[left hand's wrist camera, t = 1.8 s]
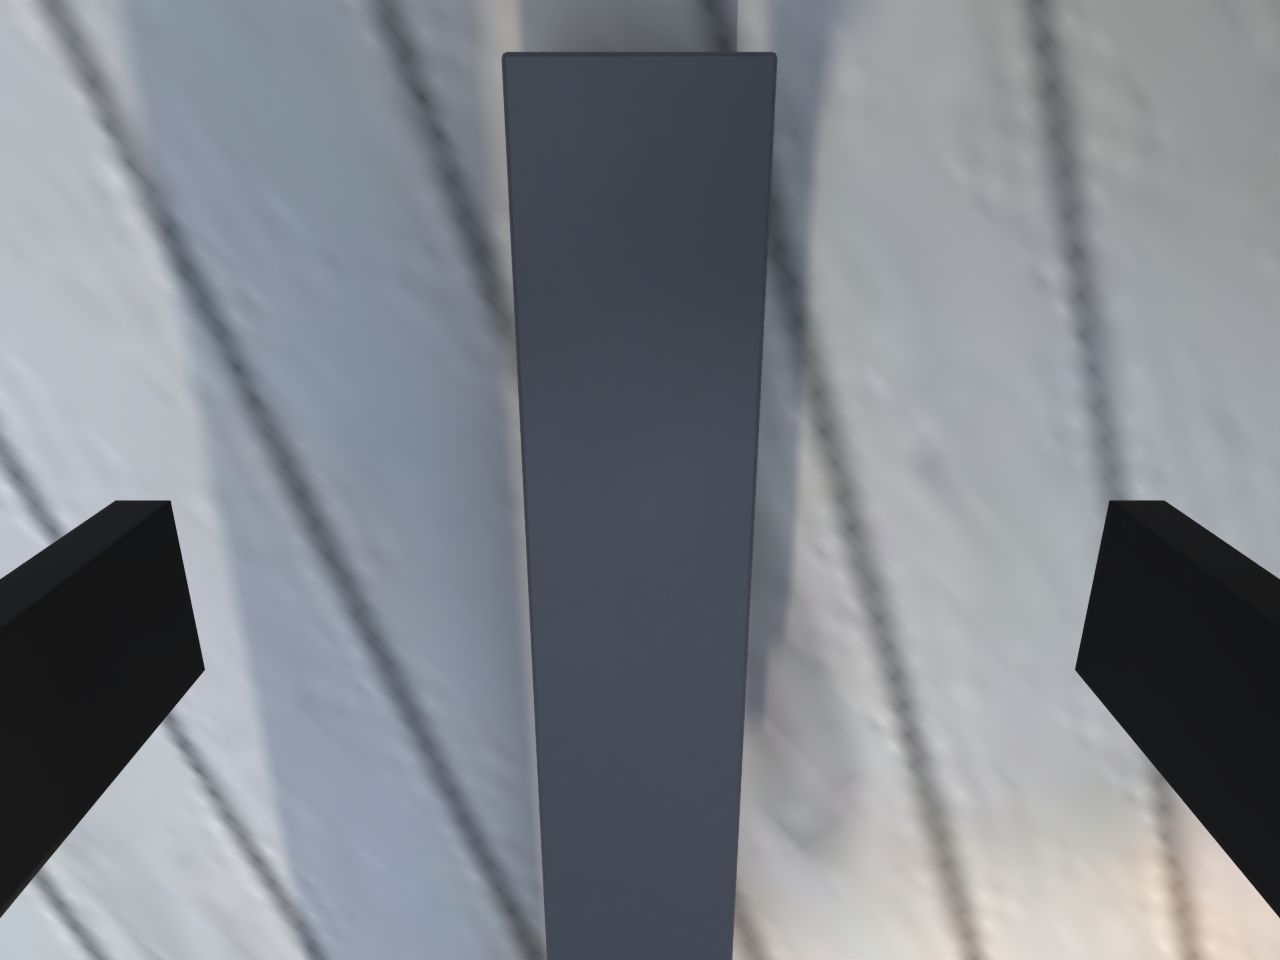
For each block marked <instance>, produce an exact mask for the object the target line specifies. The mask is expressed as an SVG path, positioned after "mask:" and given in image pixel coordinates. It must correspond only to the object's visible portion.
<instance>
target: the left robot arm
mask: <svg viewBox="0 0 1280 960" xmlns="http://www.w3.org/2000/svg"><path fill="white" fill-rule="evenodd" d="M204 670H205V668H204V663H203V658H202V653H201V648H200V643H199V638H198V633H197V628H196V623H195V619H194V614H193V609H192V604H191V599H190V594H189V589H188V584H187V579H186V574H185V569H184V564H183V560H182V555H181V550H180V545H179V540H178V535H177V530H176V525H175V520H174V515H173V510H172V506H171V501H114V502H113V503H111V504H110V505H108V506H107V507H105V508H104V509H103V510H101V511H100V512H98V513H97V514H95V515H94V516H92V517H91V518H89V519H88V520H86V521H85V522H83V523H82V524H81V525H79V526H78V527H76V528H75V529H73V530H72V531H70V532H69V533H67V534H66V535H64V536H63V537H62V538H60V539H59V540H57V541H56V542H54V543H53V544H51V545H50V546H48V547H47V548H45V549H44V550H42V551H41V552H40V553H38V554H37V555H35V556H34V557H32V558H31V559H29V560H28V561H26V562H25V563H23V564H22V565H21V566H19V567H18V568H16V569H15V570H13V571H12V572H10V573H9V574H7V575H6V576H4V577H3V578H1V579H0V918H1V916H2V915H3V914H4V913H5V912H6V910H7V909H8V908H9V907H10V906H11V904H12V903H13V902H14V901H15V899H16V898H17V897H18V896H19V895H20V893H21V892H22V891H23V890H24V889H25V887H26V886H27V885H28V884H29V882H30V881H31V880H32V879H33V878H34V876H35V875H36V874H37V873H38V872H39V870H40V869H41V868H42V867H43V866H44V864H45V863H46V862H47V861H48V859H49V858H50V857H51V856H52V855H53V853H54V852H55V851H56V850H57V849H58V847H59V846H60V845H61V844H62V842H63V841H64V840H65V839H66V838H67V836H68V835H69V834H70V833H71V832H72V830H73V829H74V828H75V827H76V826H77V824H78V823H79V822H80V821H81V819H82V818H83V817H84V816H85V815H86V813H87V812H88V811H89V810H90V809H91V807H92V806H93V805H94V804H95V802H96V801H97V800H98V799H99V798H100V796H101V795H102V794H103V793H104V792H105V790H106V789H107V788H108V787H109V786H110V784H111V783H112V782H113V781H114V779H115V778H116V777H117V776H118V775H119V773H120V772H121V771H122V770H123V769H124V767H125V766H126V765H127V764H128V762H129V761H130V760H131V759H132V758H133V756H134V755H135V754H136V753H137V752H138V750H139V749H140V748H141V747H142V746H143V744H144V743H145V742H146V741H147V739H148V738H149V737H150V736H151V735H152V733H153V732H154V731H155V730H156V729H157V727H158V726H159V725H160V724H161V722H162V721H163V720H164V719H165V718H166V716H167V715H168V714H169V713H170V712H171V710H172V709H173V708H174V707H175V706H176V704H177V703H178V702H179V701H180V699H181V698H182V697H183V696H184V695H185V693H186V692H187V691H188V690H189V689H190V687H191V686H192V685H193V684H194V682H195V681H196V680H197V679H198V678H199V676H200V675H201V674H202V673H203V672H204ZM1075 670H1076V672H1077V673H1078V674H1079V675H1080V676H1081V678H1082V679H1083V680H1084V681H1085V682H1086V684H1087V685H1088V686H1089V687H1090V689H1091V690H1092V691H1093V692H1094V693H1095V695H1096V696H1097V697H1098V698H1099V699H1100V701H1101V702H1102V703H1103V704H1104V706H1105V707H1106V708H1107V709H1108V710H1109V712H1110V713H1111V714H1112V715H1113V716H1114V718H1115V719H1116V720H1117V721H1118V722H1119V724H1120V725H1121V726H1122V727H1123V729H1124V730H1125V731H1126V732H1127V733H1128V735H1129V736H1130V737H1131V738H1132V739H1133V741H1134V742H1135V743H1136V744H1137V746H1138V747H1139V748H1140V749H1141V750H1142V752H1143V753H1144V754H1145V755H1146V756H1147V758H1148V759H1149V760H1150V761H1151V762H1152V764H1153V765H1154V766H1155V767H1156V769H1157V770H1158V771H1159V772H1160V773H1161V775H1162V776H1163V777H1164V778H1165V779H1166V781H1167V782H1168V783H1169V784H1170V786H1171V787H1172V788H1173V789H1174V790H1175V792H1176V793H1177V794H1178V795H1179V796H1180V798H1181V799H1182V800H1183V801H1184V802H1185V804H1186V805H1187V806H1188V807H1189V809H1190V810H1191V811H1192V812H1193V813H1194V815H1195V816H1196V817H1197V818H1198V819H1199V821H1200V822H1201V823H1202V824H1203V826H1204V827H1205V828H1206V829H1207V830H1208V832H1209V833H1210V834H1211V835H1212V836H1213V838H1214V839H1215V840H1216V841H1217V842H1218V844H1219V845H1220V846H1221V847H1222V849H1223V850H1224V851H1225V852H1226V853H1227V855H1228V856H1229V857H1230V858H1231V859H1232V861H1233V862H1234V863H1235V864H1236V866H1237V867H1238V868H1239V869H1240V870H1241V872H1242V873H1243V874H1244V875H1245V876H1246V878H1247V879H1248V880H1249V881H1250V882H1251V884H1252V885H1253V886H1254V887H1255V889H1256V890H1257V891H1258V892H1259V893H1260V895H1261V896H1262V897H1263V898H1264V899H1265V901H1266V902H1267V903H1268V904H1269V906H1270V907H1271V908H1272V909H1273V910H1274V912H1275V913H1276V914H1277V915H1278V916H1279V918H1280V579H1279V578H1277V577H1276V576H1274V575H1273V574H1271V573H1270V572H1268V571H1267V570H1265V569H1264V568H1262V567H1261V566H1259V565H1258V564H1257V563H1255V562H1254V561H1252V560H1251V559H1249V558H1248V557H1246V556H1245V555H1243V554H1242V553H1240V552H1239V551H1238V550H1236V549H1235V548H1233V547H1232V546H1230V545H1229V544H1227V543H1226V542H1224V541H1223V540H1221V539H1220V538H1218V537H1217V536H1216V535H1214V534H1213V533H1211V532H1210V531H1208V530H1207V529H1205V528H1204V527H1202V526H1201V525H1199V524H1198V523H1197V522H1195V521H1194V520H1192V519H1191V518H1189V517H1188V516H1186V515H1185V514H1183V513H1182V512H1180V511H1179V510H1177V509H1176V508H1175V507H1173V506H1172V505H1170V504H1169V503H1167V502H1166V501H1109V506H1108V510H1107V515H1106V520H1105V525H1104V530H1103V535H1102V540H1101V545H1100V550H1099V555H1098V560H1097V564H1096V569H1095V574H1094V579H1093V584H1092V589H1091V594H1090V599H1089V604H1088V609H1087V614H1086V619H1085V623H1084V628H1083V633H1082V638H1081V643H1080V648H1079V653H1078V658H1077V663H1076V668H1075Z"/></svg>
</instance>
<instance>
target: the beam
mask: <svg viewBox="0 0 1280 960" xmlns="http://www.w3.org/2000/svg"><path fill="white" fill-rule="evenodd" d="M502 74H503V94H504V114H505V134H506V154H507V174H508V193H509V213H510V233H511V253H512V273H513V293H514V313H515V333H516V353H517V372H518V392H519V412H520V432H521V452H522V472H523V492H524V512H525V531H526V551H527V571H528V591H529V611H530V631H531V651H532V671H533V690H534V710H535V730H536V750H537V770H538V790H539V810H540V830H541V849H542V869H543V889H544V909H545V929H546V949H547V960H732V955H733V935H734V915H735V895H736V875H737V855H738V835H739V815H740V795H741V775H742V754H743V734H744V714H745V694H746V674H747V654H748V634H749V614H750V594H751V574H752V554H753V534H754V514H755V494H756V474H757V454H758V434H759V414H760V394H761V374H762V354H763V334H764V314H765V294H766V274H767V254H768V234H769V214H770V194H771V174H772V154H773V134H774V114H775V94H776V74H777V56H776V54H775V53H773V52H506V53H504V54H503V56H502Z"/></svg>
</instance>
